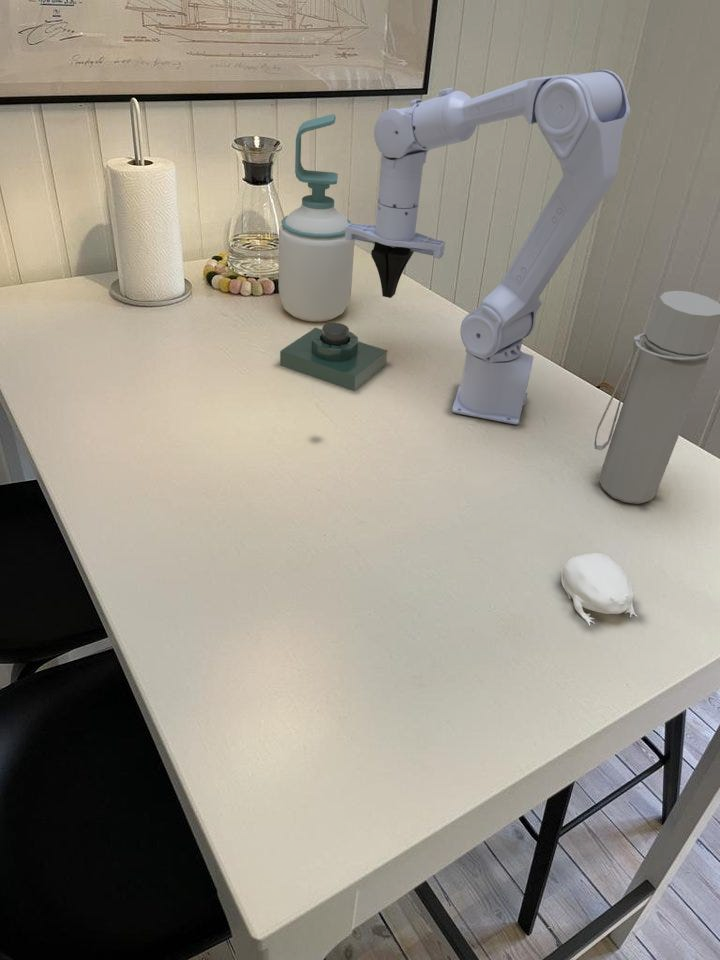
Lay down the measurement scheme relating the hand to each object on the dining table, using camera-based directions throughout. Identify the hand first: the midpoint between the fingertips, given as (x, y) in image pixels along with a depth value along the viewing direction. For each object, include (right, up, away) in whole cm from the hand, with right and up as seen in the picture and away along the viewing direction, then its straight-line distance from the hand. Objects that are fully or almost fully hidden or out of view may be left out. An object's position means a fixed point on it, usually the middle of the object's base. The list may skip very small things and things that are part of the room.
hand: (388, 294), depth 113 cm
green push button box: (-8, -10, +3) cm, 13 cm away
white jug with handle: (-12, +1, +18) cm, 22 cm away
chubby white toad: (+20, -40, -33) cm, 56 cm away
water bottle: (+28, -29, -17) cm, 44 cm away
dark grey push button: (-8, -7, 0) cm, 11 cm away
